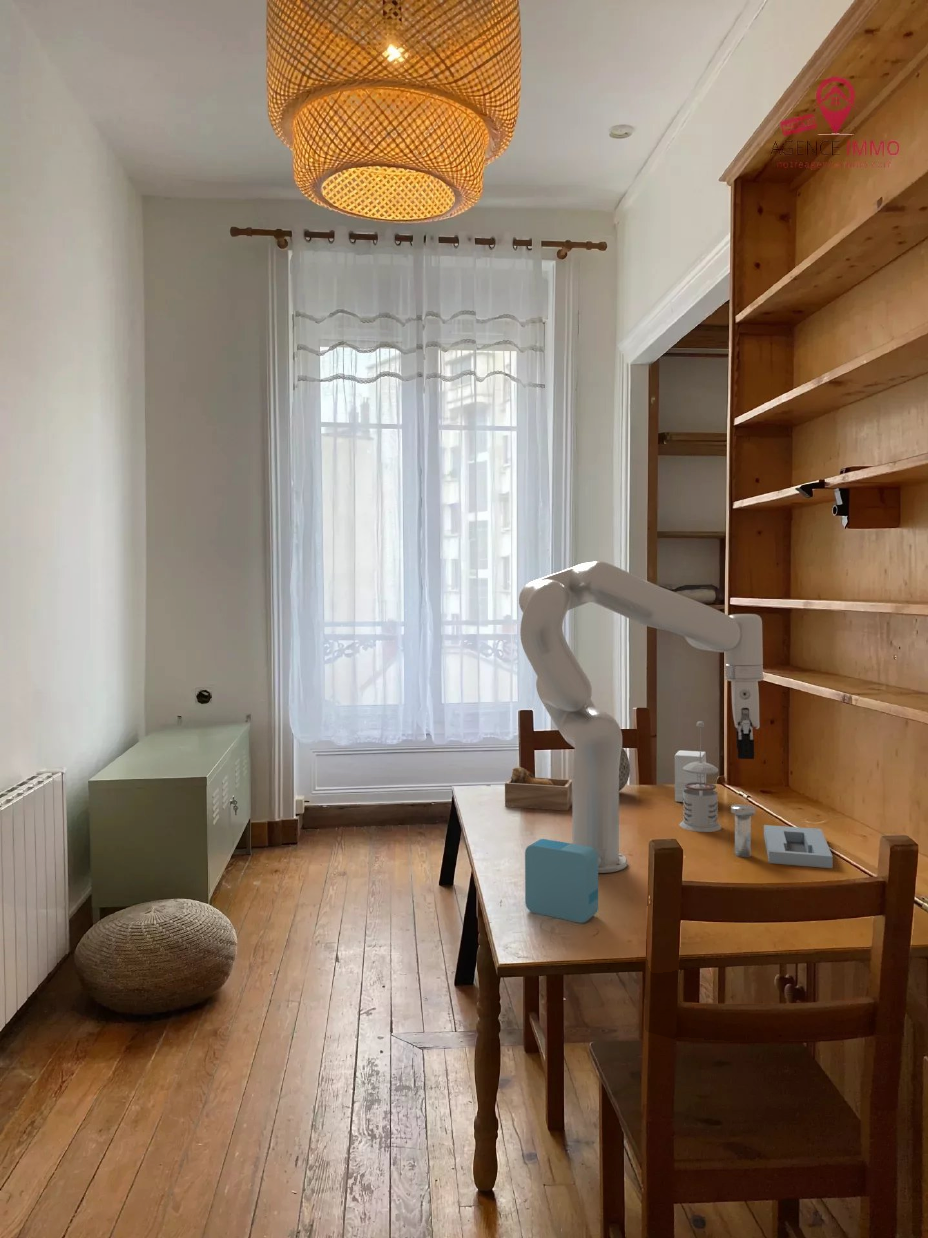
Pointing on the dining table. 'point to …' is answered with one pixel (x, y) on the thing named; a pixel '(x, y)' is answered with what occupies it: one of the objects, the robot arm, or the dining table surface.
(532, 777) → the lion figurine
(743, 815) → the metal peg
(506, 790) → the open wooden box
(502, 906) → the dining table surface
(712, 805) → the french press
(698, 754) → the supplement box
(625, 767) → the decorative egg
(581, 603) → the robot arm
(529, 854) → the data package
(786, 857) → the keyhole board
